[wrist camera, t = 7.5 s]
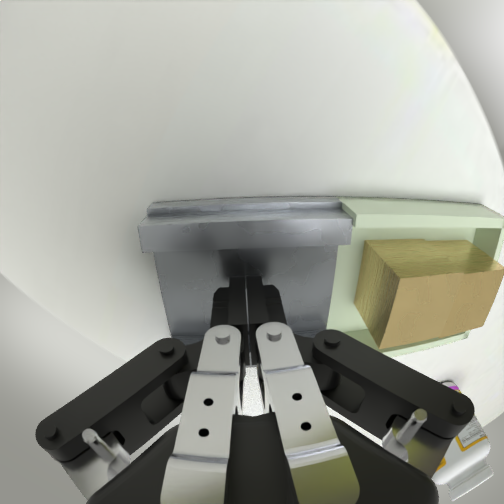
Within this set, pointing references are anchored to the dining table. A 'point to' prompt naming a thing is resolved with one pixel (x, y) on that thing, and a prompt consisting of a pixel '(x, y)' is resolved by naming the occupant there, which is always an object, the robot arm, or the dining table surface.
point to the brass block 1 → (405, 290)
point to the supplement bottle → (465, 459)
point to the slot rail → (246, 256)
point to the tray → (404, 227)
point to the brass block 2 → (470, 285)
